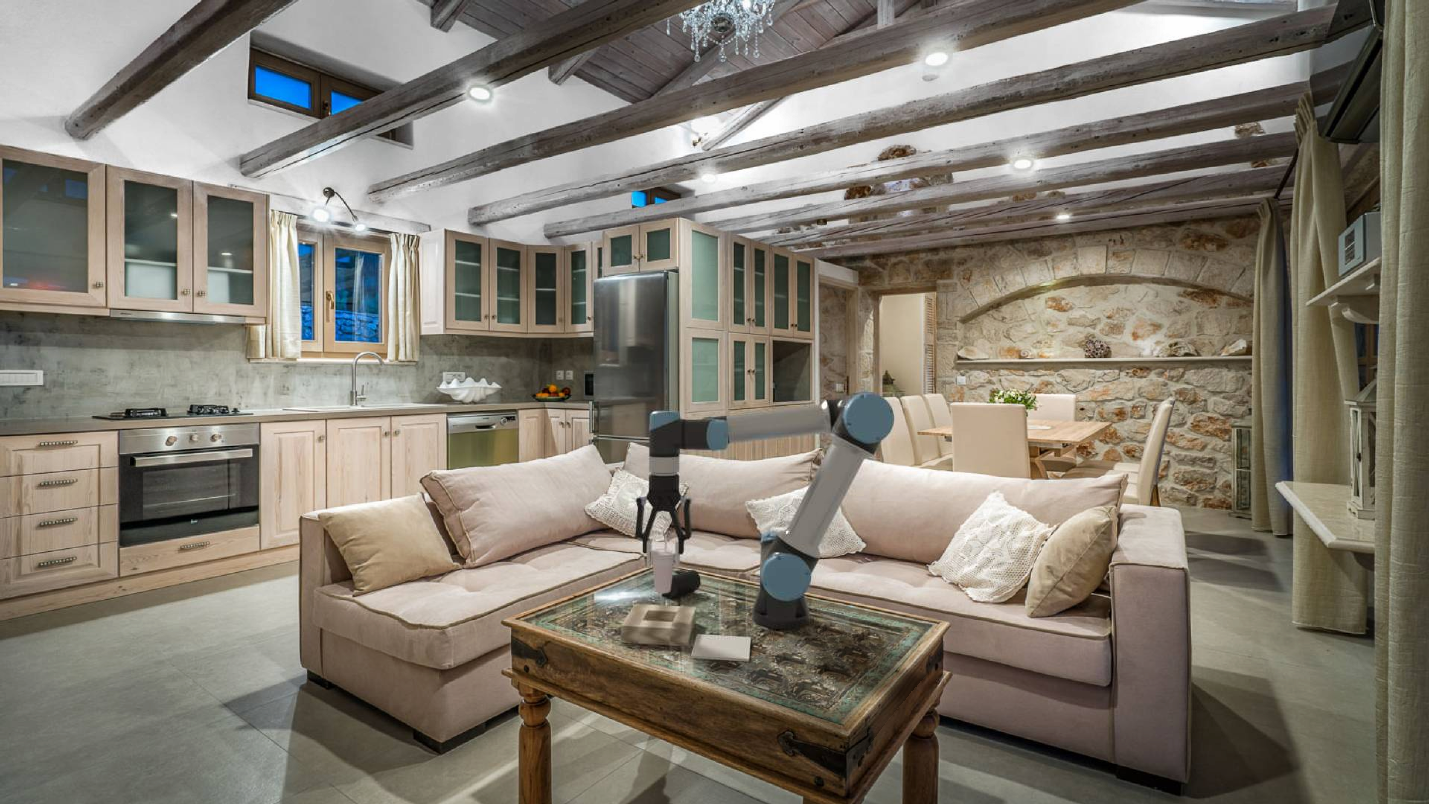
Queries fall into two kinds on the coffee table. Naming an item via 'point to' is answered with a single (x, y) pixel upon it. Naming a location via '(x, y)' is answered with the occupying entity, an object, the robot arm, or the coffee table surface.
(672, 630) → the frame
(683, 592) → the end cap
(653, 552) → the smoothie
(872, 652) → the coffee table surface
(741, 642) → the tile
